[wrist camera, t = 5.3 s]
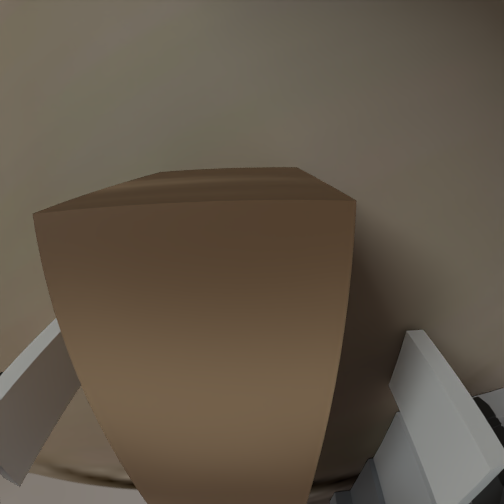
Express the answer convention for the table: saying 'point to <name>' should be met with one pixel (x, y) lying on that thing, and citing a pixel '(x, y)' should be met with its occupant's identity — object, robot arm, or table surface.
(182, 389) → the tan rectangular block
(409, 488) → the grey toy armchair
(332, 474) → the table surface
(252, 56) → the table surface
